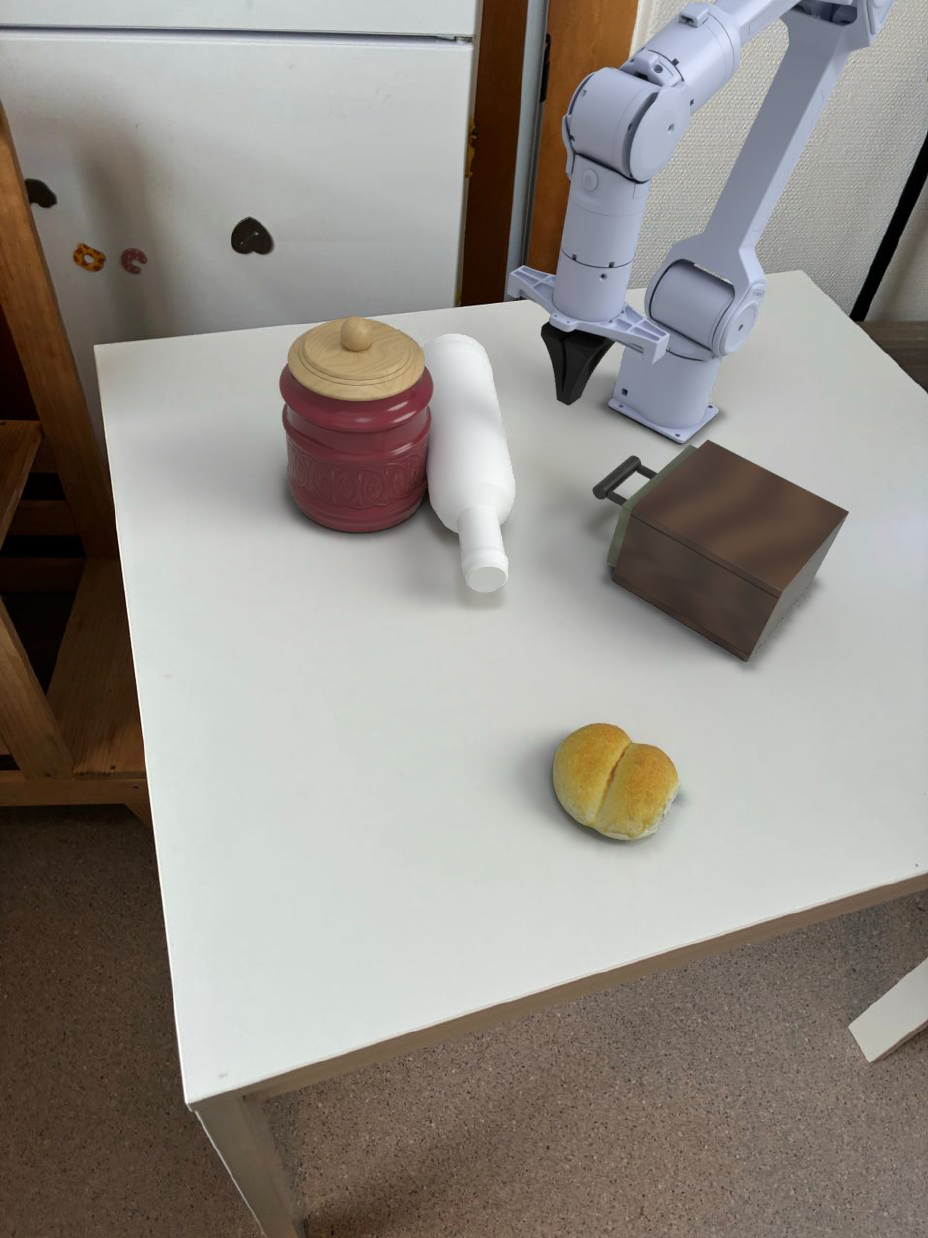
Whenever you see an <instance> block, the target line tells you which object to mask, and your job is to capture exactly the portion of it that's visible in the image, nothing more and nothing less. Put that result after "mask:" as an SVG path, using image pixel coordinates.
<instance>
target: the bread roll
mask: <svg viewBox="0 0 928 1238" xmlns="http://www.w3.org/2000/svg"><path fill="white" fill-rule="evenodd" d="M552 783H553V784H552V785H553V788H554V791H555V794H556V797H557V799H558V802H559V803H560V804H561V806H562V808H563V809H564V811H565V812H566V813H568V815H570V816H571V817H572V818H573V819H574V820H575V821H576V822H577V823H579V824H582V825H583V826H586V827H590V828H592V829H594V830H595V831H597V832H598V833H600V834H602V835H603V836H604V837H609V838H611V839H615V840H620V841H638V840H642V839H644V838H647V837H649V836H651V835H653V834H655V833H656V832H657V830H658V829H659V828H660V826H661V825H662V823H663V822H664V820H665V819H666V818H667V814H668V812H669V811H670V810H671V808H672V807H673V806H672V805H673V801H674V800H675V799H676V798H677V795H678V792H679V791H680V789H681V786H682V784H681V782H680V780H679V776H678V771H677V768H676V766H675V764H674V762H673V761H672V760H671V758H670V757H669V755H668V754H666V752H665V751H664V750H662V749H661V748H659V747H658V746H655V745H652V744H648V743H637V742H633V741H632V740H631V738H630V736H629V735H628V734H627V732H626V731H625V730H624V729H622V728H621V727H618V725H614V724H610V723H605V722H602V723H601V722H596V723H589V724H587V725H585V726H582V727H579V728H578V729H576V730H575V731H572V732H571V733H569V734H568V735H567V736H565V738H564V739H563V740H562V741H561V743H560V744H559V745H558V747H557V749H556V750H555V753H554V757H553V763H552Z"/></svg>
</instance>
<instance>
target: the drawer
mask: <svg viewBox="0 0 928 1238" xmlns="http://www.w3.org/2000/svg"><path fill="white" fill-rule="evenodd" d="M698 448H699V447H696V446H694V445H692V444H688V446H686V448H684V449H683V450H682V451H680V453H679V454H678V455H676V456H675V457H674V458H673V459H672V460H671V461H669V462H668V463H667V464H666V465H665V466H663V468H662V469H660V470H659V471H654V470H652V469H651V468H649V467H647V466H645V465H643V464H642V461H641V459H640V458H639V457H638V456H637V455H629V457H627V458H626V459H625V460H624V461H622V462H621V463H620V464H619V465H618V466H617V467H615V469H613V470H612V471H610V472H609V473H608V474H607V475H606V476H605V477H604V478H603V479H601V480H600V481H599V482H598V483H596V484H595V485H594V486H593V488H592V494H593V496H594V497H595V498H596V499H597V500H600V501H602V500H605V499H607V500H609V501H611V502H612V503H614V504H616V505H618V506H619V507H620V511H619V513H618V518H617V521H616V523H615V528H614V532H613V536H612V539H611V542H610V546H609V550H608V553H607V556H606V561H605V563H606V564H608V565H609V566H611V567H613V568H615V565H616V562H617V558H618V555H619V552H620V548H621V545H622V541H623V538H624V534H625V531H626V528H627V524H628V521H629V517H630V514H631V511H632V507H633V506H635V505H636V504H637V503H638V502H639V501H640V500H641V499H642V498H643V497H645V496H646V495H647V494H648V493H649V492H650V491H651V490H652V489H653V488H654V487H656V486H657V485H658V484H659V483H660V482H661V481H662V480H663V479H664V478H666V477H667V476H668V475H669V474H670V473H671V472H672V471H673V470H674V469H676V468H677V467H678V466H679V465H680V464H681V463H682V462H683V461H684V460H685V459H687V458H688V457H689V456H690V455H691V454H692V453H693V452H694V451H695V450H697V449H698ZM635 473H637V474H639V475H641V476H643V477H644V478H647V479H649V480H648V481H647V482H646V483H644V484H643V486H642V487H640V488H639V489H638V490H637V491H636V492H634V494H632V495H631V496H630V497H629V498H626V497H624V496H622V495H620V494H619V493H617V492H615V490H617V489H618V488H619V487H620V486H621V485H622V484H623V483H625V482H626V481H627V480H628V479H629V478H630V477H632V476H633V475H634V474H635Z"/></svg>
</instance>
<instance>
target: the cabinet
mask: <svg viewBox="0 0 928 1238" xmlns="http://www.w3.org/2000/svg"><path fill="white" fill-rule="evenodd" d="M697 448H698V449H697V450H695V451H694V452H693V453H692V454H691V455H690V456H689V457H688V458H687V459H685V460H684V461H683V462H682V463H681V464H680V465H679V466H678V467H677V468H676V469H674V470H673V471H672V472H671V473H670V474H669V475H668V476H667V477H666V478H664V479H663V480H662V481H661V482H660V483H659V484H658V485H657V486H656V487H654V488H653V489H652V490H651V491H650V492H649V493H648V494H647V495H646V496H645V497H643V498H642V499H641V500H640V501H639V502H638V503H637V504H636V505H635V506H633V507H632V511H631V514H630V517H629V521H628V524H627V528H626V531H625V534H624V538H623V541H622V545H621V548H620V552H619V555H618V558H617V562H616V565H615V567H614V569H613V573H612V576H611V581H612V582H615V583H616V584H618V585H619V586H621V587H623V588H625V590H627V591H629V592H630V593H633V594H634V595H636V596H638V597H640V598H641V599H643V600H644V601H646V602H647V603H649V604H651V605H653V606H655V607H656V608H658V609H659V610H661V611H662V612H664V613H666V614H667V615H669V616H671V617H673V618H674V619H675V620H677V621H679V622H680V623H682V624H684V625H685V626H687V627H689V628H690V629H692V630H694V631H696V632H697V633H699V634H700V635H702V636H704V637H705V638H707V639H708V640H710V641H712V642H713V643H715V644H716V645H718V646H720V647H721V648H723V649H725V650H726V651H729V652H730V653H731V654H733V655H735V656H737V657H738V658H740V659H742V660H743V661H745V662H749V661H750V659H751V658H752V657H753V656H754V655H755V653H756V652H757V651H758V649H759V648H760V647H761V646H762V644H763V643H764V642H765V641H766V640H767V638H768V637H769V636H770V634H771V633H772V632H773V631H774V630H775V628H777V626H778V625H779V623H780V622H781V621H782V620H783V618H785V616H786V615H787V613H788V612H789V611H790V610H791V608H792V607H794V605H795V604H796V603H797V601H798V600H799V599H800V597H801V596H802V595H803V594H804V593H805V592H806V590H807V589H808V588H809V586H810V585H811V584H812V582H813V581H814V579H815V577H816V576H817V573H818V572H819V570H820V568H821V566H822V564H823V562H824V560H825V559H826V557H827V555H828V552H829V551H830V550H831V547H832V545H833V543H834V541H835V540H836V538H837V536H838V534H839V532H840V530H841V528H842V527H843V525H844V523H845V521H846V519H847V517H848V515H849V514H850V511H849V510H847V509H846V508H845V509H844V508H843V507H841V506H839V505H837V504H835V503H833V502H831V501H829V500H827V499H825V498H823V497H821V496H820V495H817V494H815V493H814V492H812V491H810V490H808V489H806V488H804V487H802V486H800V485H798V484H796V483H794V482H792V481H790V480H788V479H787V478H784V477H782V476H780V475H778V474H777V473H774V472H772V471H771V470H769V469H767V468H765V467H763V466H761V465H759V464H757V463H755V462H753V461H752V460H749V459H747V458H745V457H743V456H742V455H739V454H737V453H735V452H733V451H731V450H730V449H727V448H726V447H724V446H722V445H720V444H719V443H716V442H714V441H712V440H710V439H706V440H705V441H704V442H703V443H702V444H700V445H699V447H697Z"/></svg>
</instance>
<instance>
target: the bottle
mask: <svg viewBox="0 0 928 1238" xmlns="http://www.w3.org/2000/svg"><path fill="white" fill-rule="evenodd" d="M421 349H422V351H423V354H424V357H425V366H426V367H427V369H428V370H429V372H430V374H431V376H432V379H433V384H434V389H433V395H432V398H431V400H430V402H429V404H428V405H429V408H430V411H431V416H432V422H431V427H430V430H429V437H428V453H427V463H426V471H427V480H428V483H427V488H428V495H429V501H430V506H431V507H432V509H433V511H434V512H435V514H436V515H437V516H438V518H439V520H440V521H441V522H442V524H443V525H444V527H445V528H447V529H449V530H450V531H452V532H453V533H455V534H458V535H457V536H458V540H459V541H458V542H459V545H460V546H459V548H460V554H461V560H462V562H461V567H460V568H461V573H462V575H463V577H464V582H465V585H466V586H467V587H468V588H469V589H471V590H473V591H475V592H479V593H490V592H494V591H497V590H498V589H500V588H502V587H503V586H504V585H506V583H507V582H508V580H509V568H510V567H509V559H508V556H507V555H506V553H505V547H504V542H503V537H502V531H501V526H502V525H503V524H504V523H505V522H506V521H507V520H508V518H509V516H510V514H511V511H512V509H513V506H514V503H515V499H516V494H517V492H516V489H517V488H516V480H515V474H514V470H513V465H512V460H511V455H510V451H509V447H508V442H507V438H506V433H505V429H504V423H503V419H502V414H501V410H500V405H499V399H498V395H497V391H496V387H495V382H494V376H493V375H494V374H493V367H492V364H491V362H490V360H489V359H490V358H489V356H488V354H487V351H486V350H485V348H484V346H483V345H482V344H481V343H480V342H479V341H477V340H476V339H475V338H473V337H471V336H468V335H465V334H463V333H446V334H443V335H438V336H436V337H433V338H432V339H431V340H429V341H428V342H426V343H425V344H424V345H423V346H422V347H421Z"/></svg>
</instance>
